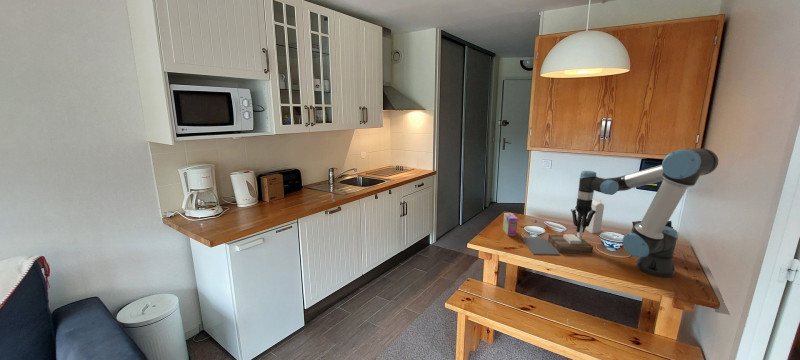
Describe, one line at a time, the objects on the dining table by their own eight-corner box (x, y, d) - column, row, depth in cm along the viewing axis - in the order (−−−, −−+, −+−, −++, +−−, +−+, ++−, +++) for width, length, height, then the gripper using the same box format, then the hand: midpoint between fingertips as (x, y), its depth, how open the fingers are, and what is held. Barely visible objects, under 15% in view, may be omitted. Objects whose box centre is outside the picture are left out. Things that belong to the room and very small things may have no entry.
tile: (580, 244, 185) (581, 240, 184) (569, 243, 185) (570, 240, 185) (573, 237, 193) (573, 234, 193) (563, 237, 194) (563, 234, 193)
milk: (592, 233, 210) (596, 200, 205) (585, 230, 216) (589, 198, 210) (600, 232, 211) (605, 200, 206) (593, 229, 217) (597, 197, 211)
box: (516, 235, 206) (517, 218, 203) (507, 235, 206) (508, 218, 203) (511, 229, 216) (512, 212, 213) (502, 229, 216) (503, 212, 214)
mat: (559, 255, 180) (559, 254, 180) (533, 254, 181) (533, 253, 181) (544, 238, 201) (544, 238, 201) (521, 238, 202) (521, 237, 202)
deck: (592, 253, 182) (593, 246, 181) (559, 252, 183) (559, 246, 182) (578, 241, 198) (579, 235, 197) (548, 240, 198) (548, 234, 198)
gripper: (593, 196, 186) (587, 235, 192) (569, 196, 187) (564, 234, 193) (600, 200, 179) (594, 240, 185) (576, 200, 180) (570, 239, 186)
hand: (579, 237), depth 189 cm, fingers closed
